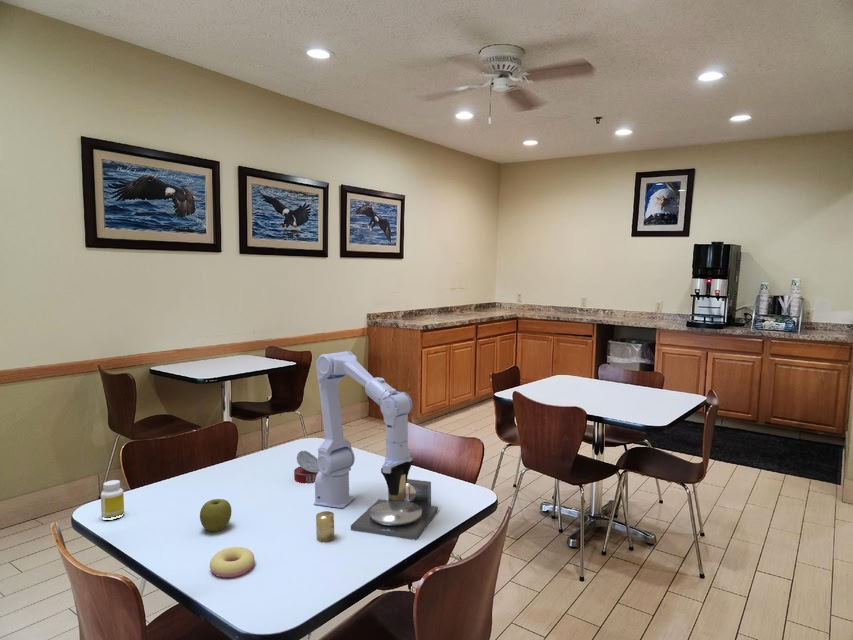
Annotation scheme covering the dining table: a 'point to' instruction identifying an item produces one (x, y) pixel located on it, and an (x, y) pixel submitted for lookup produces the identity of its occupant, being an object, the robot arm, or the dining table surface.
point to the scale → (416, 494)
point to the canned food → (306, 468)
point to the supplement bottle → (112, 499)
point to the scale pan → (395, 512)
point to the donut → (232, 562)
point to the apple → (215, 514)
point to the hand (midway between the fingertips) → (397, 491)
